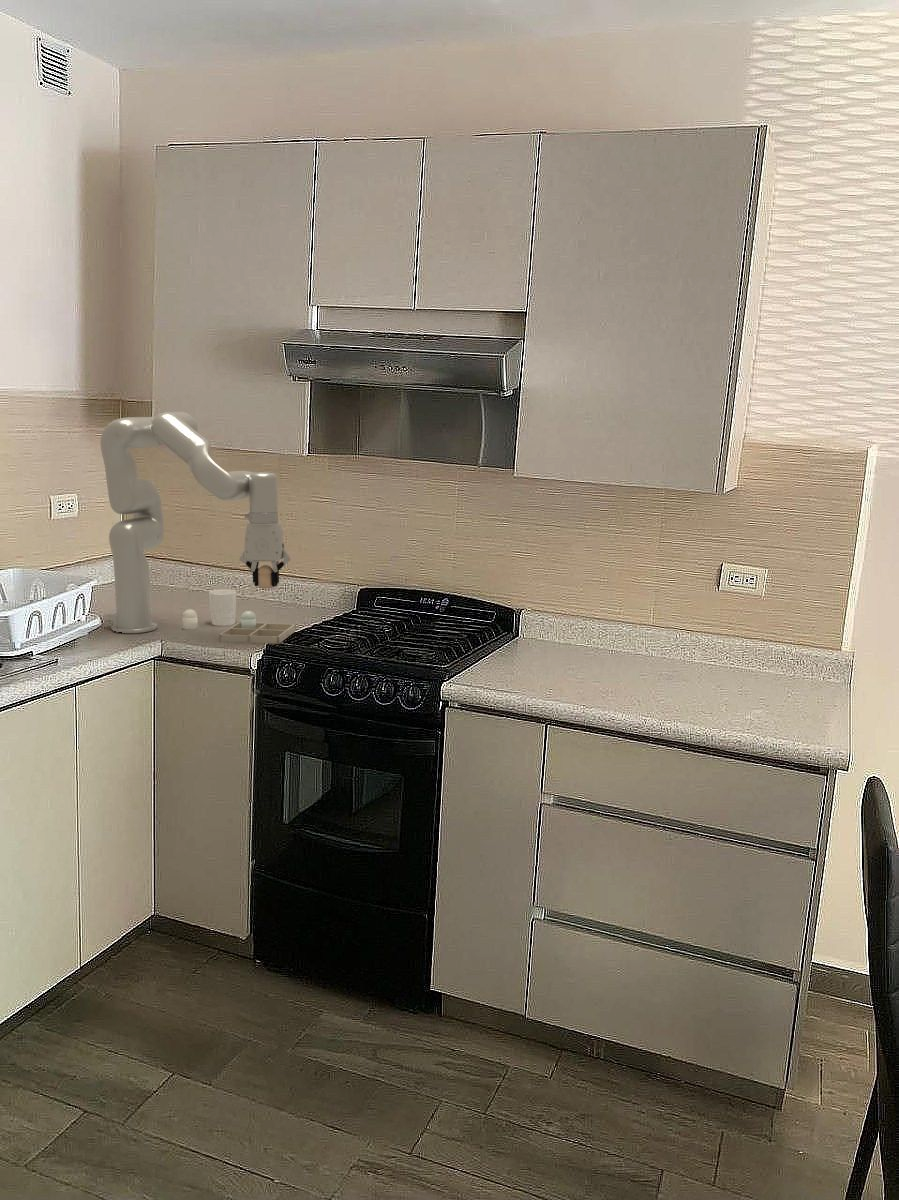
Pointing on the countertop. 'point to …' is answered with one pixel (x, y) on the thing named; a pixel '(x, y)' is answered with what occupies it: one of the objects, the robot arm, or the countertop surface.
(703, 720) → the countertop surface
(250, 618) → the green egg
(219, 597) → the white cup
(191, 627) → the white egg
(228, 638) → the egg tray
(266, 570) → the brown egg
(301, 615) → the countertop surface
